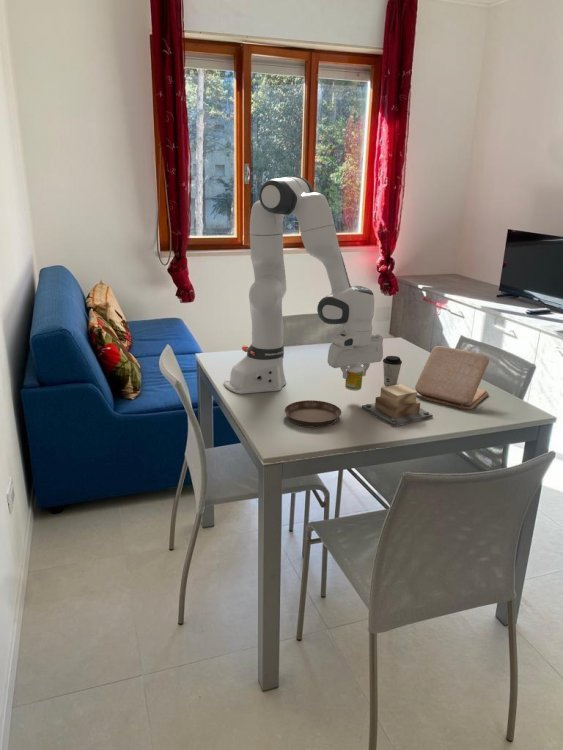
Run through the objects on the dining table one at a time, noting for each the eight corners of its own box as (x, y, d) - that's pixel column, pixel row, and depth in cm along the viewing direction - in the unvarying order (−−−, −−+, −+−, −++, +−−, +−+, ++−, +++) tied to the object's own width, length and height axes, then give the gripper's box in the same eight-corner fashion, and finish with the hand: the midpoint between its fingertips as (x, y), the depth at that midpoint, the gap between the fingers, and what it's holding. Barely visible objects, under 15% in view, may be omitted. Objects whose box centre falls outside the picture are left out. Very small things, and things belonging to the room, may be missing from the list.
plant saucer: (272, 418, 182) (272, 409, 181) (308, 404, 195) (308, 395, 194) (317, 436, 171) (317, 426, 170) (352, 419, 184) (352, 410, 183)
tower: (392, 426, 179) (395, 402, 176) (361, 408, 192) (363, 385, 189) (432, 417, 186) (435, 394, 183) (399, 400, 199) (402, 378, 197)
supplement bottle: (357, 392, 192) (359, 364, 189) (342, 388, 195) (344, 360, 192) (363, 387, 197) (366, 360, 193) (349, 384, 199) (351, 357, 196)
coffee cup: (387, 387, 211) (389, 361, 208) (377, 381, 217) (379, 355, 214) (403, 385, 214) (406, 359, 210) (393, 379, 220) (395, 354, 216)
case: (411, 397, 203) (416, 353, 198) (436, 381, 219) (441, 340, 214) (468, 413, 192) (476, 366, 186) (490, 395, 208) (497, 352, 202)
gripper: (377, 331, 197) (373, 370, 202) (326, 337, 188) (323, 377, 192) (389, 336, 192) (384, 375, 197) (337, 342, 183) (334, 383, 187)
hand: (354, 376), depth 195 cm, fingers closed on supplement bottle, 5 cm apart
